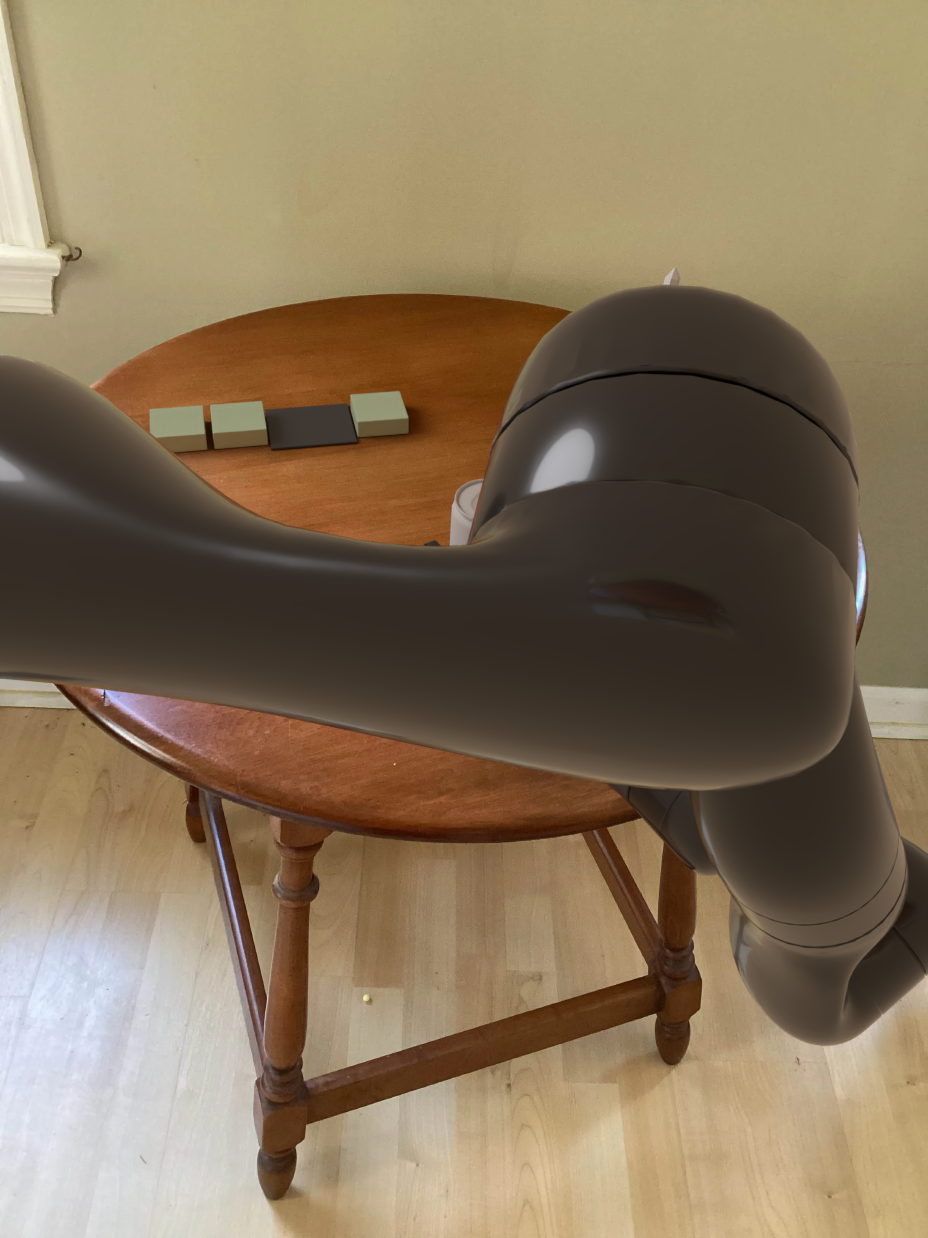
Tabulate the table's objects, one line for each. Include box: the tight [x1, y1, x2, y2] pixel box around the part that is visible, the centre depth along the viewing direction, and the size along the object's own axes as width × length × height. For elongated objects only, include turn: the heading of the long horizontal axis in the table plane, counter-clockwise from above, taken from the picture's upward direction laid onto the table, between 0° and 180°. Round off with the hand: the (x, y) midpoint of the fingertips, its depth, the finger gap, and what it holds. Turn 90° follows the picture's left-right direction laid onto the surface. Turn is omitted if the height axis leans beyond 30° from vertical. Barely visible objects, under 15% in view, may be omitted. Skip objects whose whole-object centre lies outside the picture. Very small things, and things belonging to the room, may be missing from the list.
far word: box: [149, 390, 410, 454], centre depth 89 cm, size 21×6×2 cm, turn 103°
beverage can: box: [449, 478, 484, 546], centre depth 68 cm, size 5×5×12 cm
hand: (463, 540), depth 69 cm, fingers closed on beverage can, 5 cm apart
